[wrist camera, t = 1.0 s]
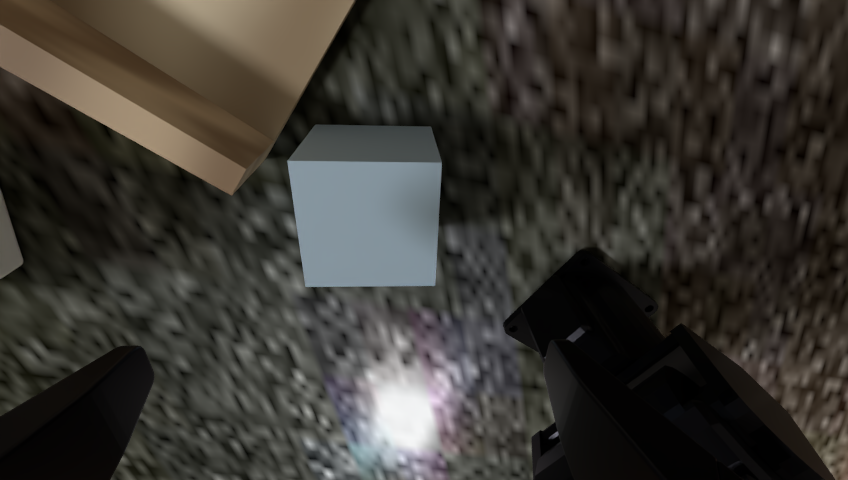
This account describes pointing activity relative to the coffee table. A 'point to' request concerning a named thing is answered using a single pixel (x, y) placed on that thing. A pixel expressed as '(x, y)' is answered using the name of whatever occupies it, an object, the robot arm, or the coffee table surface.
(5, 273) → the jar
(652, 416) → the robot arm
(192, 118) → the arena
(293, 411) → the coffee table surface
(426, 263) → the cube
